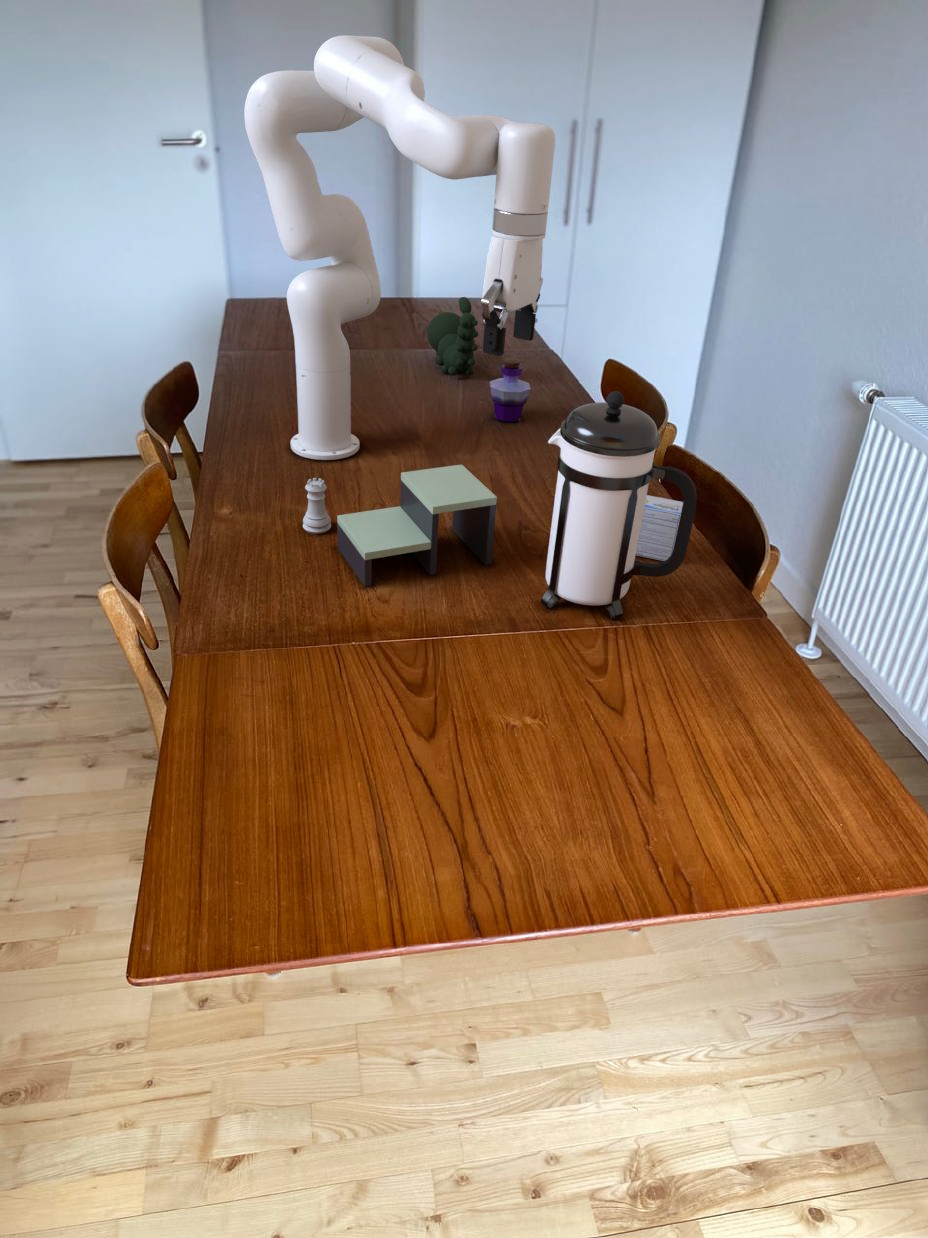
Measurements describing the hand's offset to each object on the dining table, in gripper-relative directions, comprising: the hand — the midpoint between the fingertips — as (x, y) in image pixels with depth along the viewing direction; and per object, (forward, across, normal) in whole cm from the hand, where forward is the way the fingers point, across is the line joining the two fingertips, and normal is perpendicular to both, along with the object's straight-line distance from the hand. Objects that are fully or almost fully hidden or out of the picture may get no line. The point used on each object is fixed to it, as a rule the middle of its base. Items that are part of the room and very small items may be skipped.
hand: (508, 345), depth 138 cm
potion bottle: (+28, -39, -18) cm, 51 cm away
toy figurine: (+28, -59, -43) cm, 78 cm away
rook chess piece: (+28, +22, -20) cm, 40 cm away
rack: (+27, +21, -2) cm, 34 cm away
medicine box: (+27, -2, +27) cm, 38 cm away
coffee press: (+27, +15, +24) cm, 40 cm away
